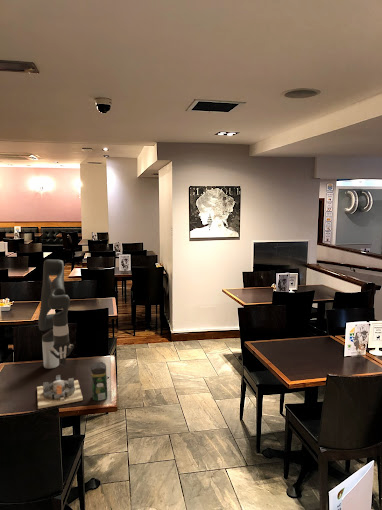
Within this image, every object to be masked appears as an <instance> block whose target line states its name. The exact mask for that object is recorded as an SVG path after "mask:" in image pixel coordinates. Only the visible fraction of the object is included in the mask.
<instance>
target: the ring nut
mask: <svg viewBox="0 0 382 510" xmlns="http://www.w3.org/2000/svg"><path fill="white" fill-rule="evenodd" d="M61 378H62V377H61V374H57V375H55V381H57V380H62V379H61ZM74 378H75V377H72V378H71V377H70V378H67V379H68V380H66V379H65V380H63V381H64V382H65V388H67V389H66V390H64V391H62V387H61V385H58V386H57V392H52V391H51V390H53V382H49V381H46V382H43V383H42V386H43V397H45V398H48V399H54V400H55V399H60V398H61V397H64V398H65V397H68V396H69V395H71V394H73V393H74V391H75V386H74V381H75V380H74Z"/></svg>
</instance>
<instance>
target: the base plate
mask: <svg viewBox="0 0 382 510" xmlns="http://www.w3.org/2000/svg"><path fill="white" fill-rule="evenodd" d="M64 381H65V380H64V379H61V380H57V381H56V380H54V381H53V382H52V383H53V390H51V391H52V392H57V386H58V385H61V387H62V391H64V390H66V389H67V388H65V382H64ZM74 386H75V391H74V393H73V394H71V395H69V396H68V397H65V398H64V397H61V398H60V399H55V400H54V399H48V398H45V397H43V385H40V386H36V390H37V391H36V392H37V409H38V410H39V409H43V408H50V407H54V406H61V405H65V404H71V403H75V402H76V403H77V402H82V401H83V399H84V398H83V394H82V390H81V388H80V387H81V386H80V382H79V380H78V379H76V380H74Z"/></svg>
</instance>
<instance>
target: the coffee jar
mask: <svg viewBox="0 0 382 510" xmlns="http://www.w3.org/2000/svg"><path fill="white" fill-rule="evenodd" d="M90 373H91V375H90V377H91V391H92V393H91V394H92V400H94V401H97V402H100V401H101V402H102V401H104V400H106V399H108V380H107V379H108V377H107V375H108V374H107V365H106V363H105V362H103V361H96V362H94V363H93V364H91V368H90Z"/></svg>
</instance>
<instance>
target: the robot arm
mask: <svg viewBox="0 0 382 510" xmlns="http://www.w3.org/2000/svg"><path fill="white" fill-rule="evenodd" d="M42 268H43V269H42V287H41V297H40V307H39V313H38V319H37V320H38V321H37V327H38V329H39V331H47V332H46V333H44V334H43V335H42V336H41V342H42V343H41V344H42V345H41V346H42V360H43V368H45V369H54V368H57V367H59V366H60V365H61V366H65V364H66V363H67V361H66V358H67V357H68V356H70V354H71V353H72V351H73V350H74V348H75V346H74V344H73V343H72V344H71V343H70V336H69V335H70V334H69V326H68V325H69V324H68V312H69V308H70V303H71V299H70V296H69V294H66V289H65V263H64V260H62V259H50V258H48V259H45V260H44V262H43V267H42ZM50 276H52V277H53V276H55V278H54V279H51V278H50ZM51 310H61V311H58V312H56V313H51V314H49V312H50V311H51Z"/></svg>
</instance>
